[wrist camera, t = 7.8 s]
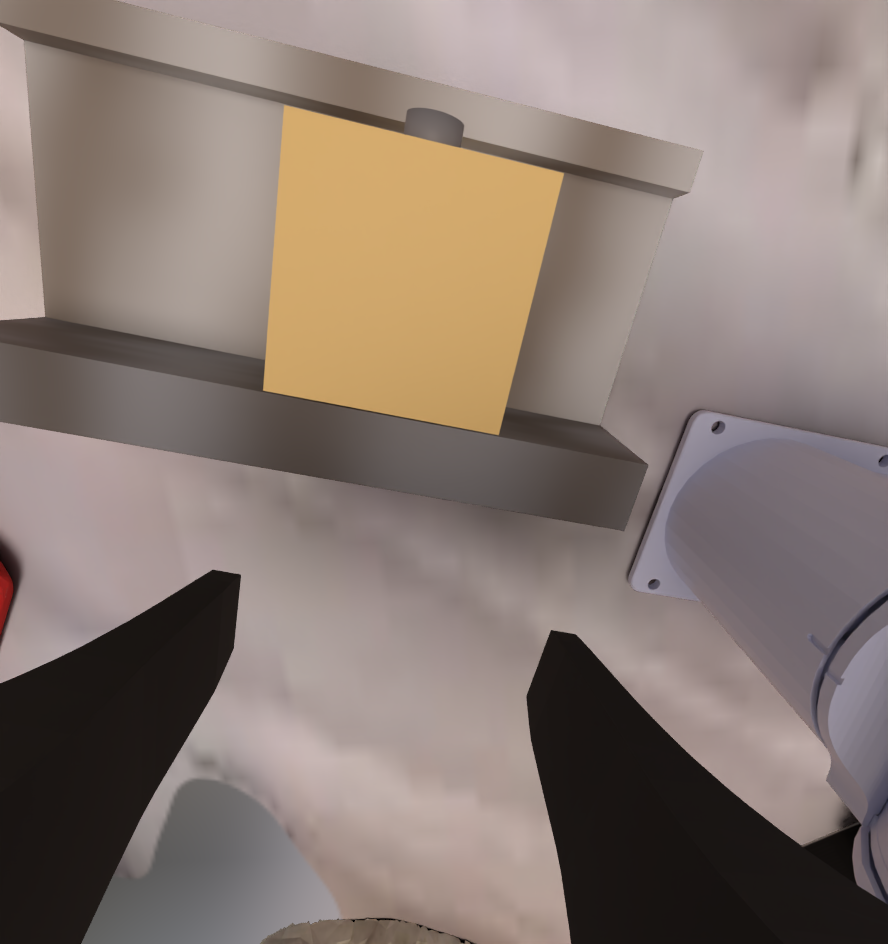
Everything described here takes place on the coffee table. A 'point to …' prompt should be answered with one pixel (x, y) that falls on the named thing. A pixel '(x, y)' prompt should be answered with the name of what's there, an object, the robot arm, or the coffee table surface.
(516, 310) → the cabinet block
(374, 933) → the rough stone chunk
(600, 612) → the coffee table surface
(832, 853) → the camera
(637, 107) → the coffee table surface
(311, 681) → the coffee table surface
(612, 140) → the board
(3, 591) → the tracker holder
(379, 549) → the coffee table surface
